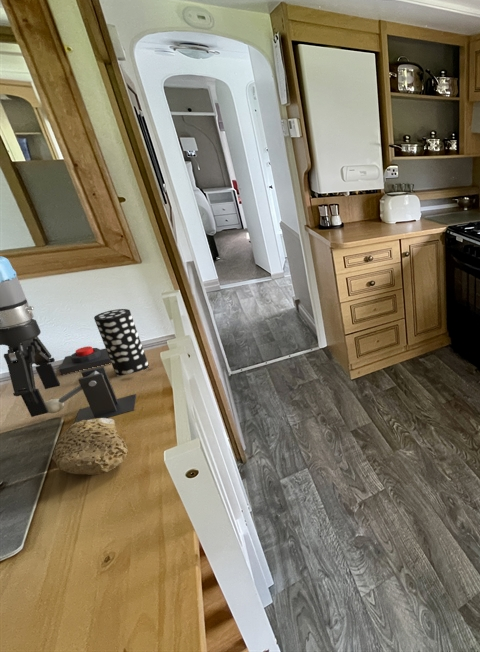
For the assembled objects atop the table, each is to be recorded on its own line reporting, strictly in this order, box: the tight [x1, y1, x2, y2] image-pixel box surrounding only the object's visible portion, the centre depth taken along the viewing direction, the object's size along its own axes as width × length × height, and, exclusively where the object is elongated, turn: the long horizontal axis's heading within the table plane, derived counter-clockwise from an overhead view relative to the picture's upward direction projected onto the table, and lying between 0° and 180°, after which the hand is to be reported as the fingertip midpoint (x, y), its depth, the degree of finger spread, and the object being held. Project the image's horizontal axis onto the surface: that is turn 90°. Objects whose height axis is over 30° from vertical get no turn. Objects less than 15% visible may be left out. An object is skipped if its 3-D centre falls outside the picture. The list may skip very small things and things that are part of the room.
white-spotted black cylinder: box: [93, 308, 150, 377], centre depth 119 cm, size 8×8×20 cm
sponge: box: [51, 418, 128, 476], centre depth 86 cm, size 13×8×20 cm
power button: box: [74, 345, 94, 356], centre depth 125 cm, size 4×4×2 cm
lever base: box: [74, 366, 137, 423], centre depth 100 cm, size 12×9×13 cm
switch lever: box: [44, 371, 99, 414], centre depth 97 cm, size 13×4×4 cm, turn 127°
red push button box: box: [58, 347, 111, 376], centre depth 126 cm, size 12×10×4 cm
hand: (46, 399), depth 94 cm, fingers open, 13 cm apart
